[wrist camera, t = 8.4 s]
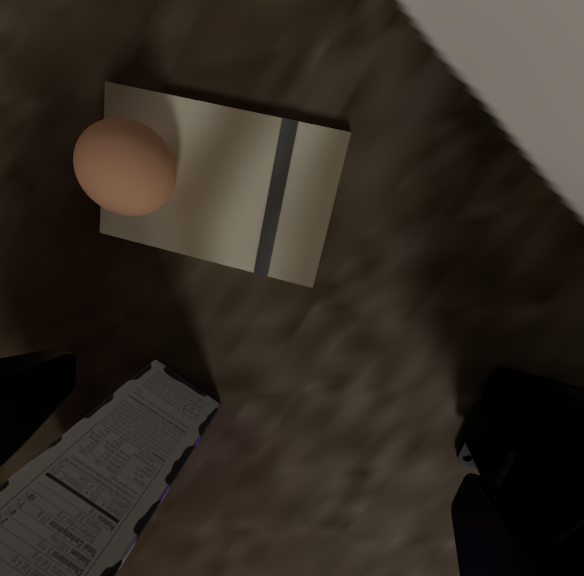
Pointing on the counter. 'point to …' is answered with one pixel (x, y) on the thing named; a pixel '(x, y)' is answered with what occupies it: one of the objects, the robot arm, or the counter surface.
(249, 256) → the board
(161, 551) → the counter surface
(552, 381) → the robot arm
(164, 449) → the candy box
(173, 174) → the ball
